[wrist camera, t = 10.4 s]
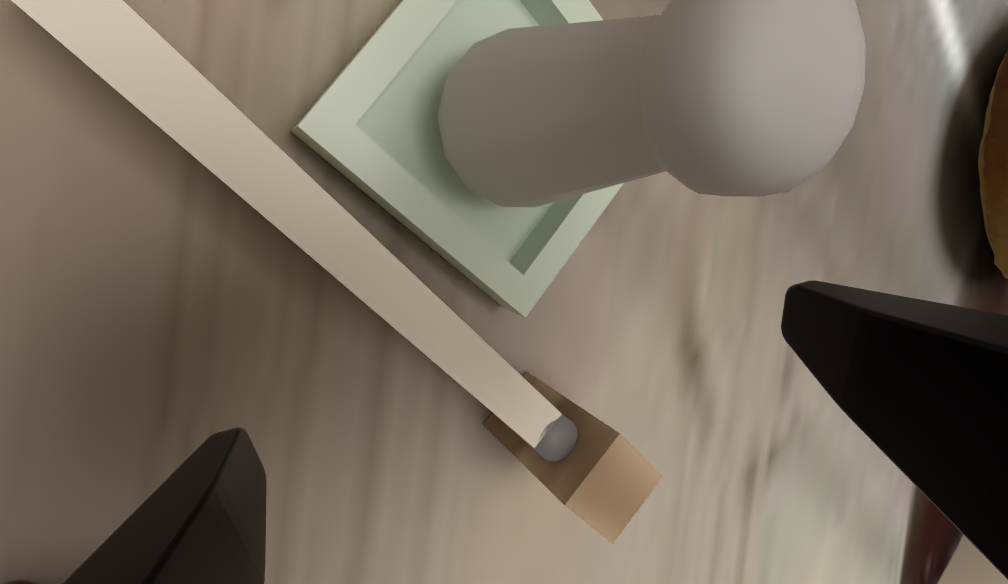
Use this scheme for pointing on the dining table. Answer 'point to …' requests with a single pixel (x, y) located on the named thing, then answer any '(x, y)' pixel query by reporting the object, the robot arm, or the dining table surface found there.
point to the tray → (419, 151)
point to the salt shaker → (657, 100)
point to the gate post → (587, 467)
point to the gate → (294, 204)
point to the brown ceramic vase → (996, 168)
